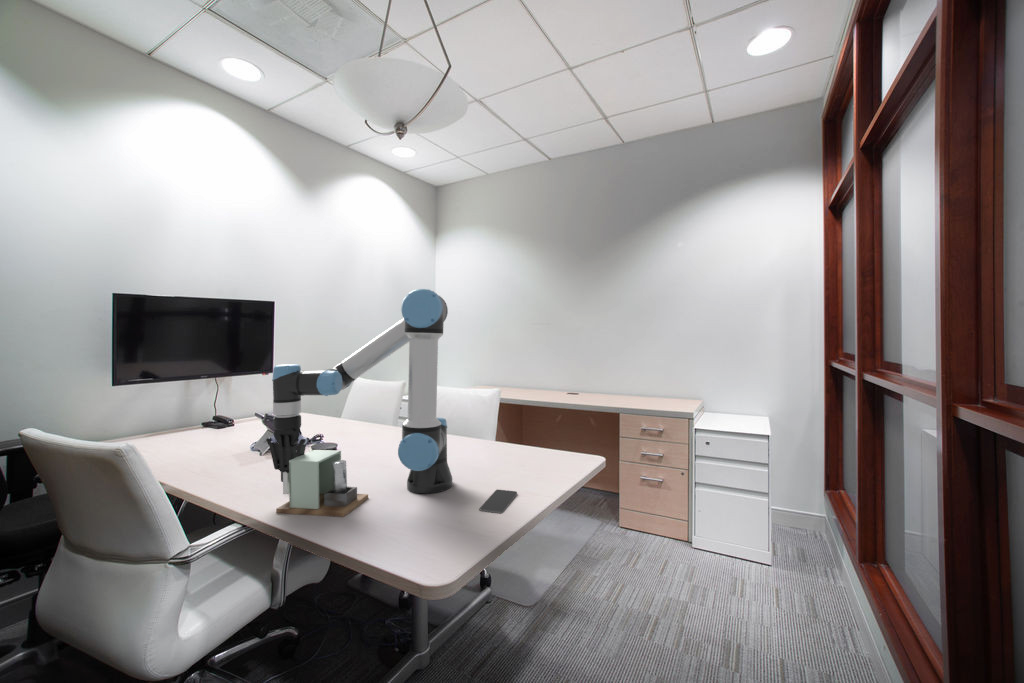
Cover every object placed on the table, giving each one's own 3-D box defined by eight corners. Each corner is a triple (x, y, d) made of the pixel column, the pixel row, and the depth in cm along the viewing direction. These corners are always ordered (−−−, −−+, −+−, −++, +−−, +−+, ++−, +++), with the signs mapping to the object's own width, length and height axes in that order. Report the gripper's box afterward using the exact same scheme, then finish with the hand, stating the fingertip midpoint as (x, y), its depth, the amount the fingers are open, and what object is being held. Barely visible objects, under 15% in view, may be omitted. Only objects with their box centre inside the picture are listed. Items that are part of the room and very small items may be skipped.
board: (368, 498, 131) (368, 483, 131) (343, 516, 117) (343, 500, 117) (307, 494, 134) (307, 480, 134) (276, 512, 120) (276, 496, 120)
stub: (350, 499, 126) (348, 460, 126) (343, 505, 122) (341, 464, 122) (337, 499, 127) (336, 460, 126) (330, 504, 123) (328, 464, 122)
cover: (341, 493, 131) (340, 450, 131) (318, 509, 119) (317, 461, 119) (315, 492, 132) (314, 449, 132) (289, 507, 121) (289, 460, 121)
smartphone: (478, 509, 120) (496, 489, 135) (478, 512, 120) (496, 492, 135) (502, 512, 118) (517, 491, 133) (502, 515, 118) (517, 494, 133)
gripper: (314, 413, 130) (315, 488, 130) (276, 412, 132) (277, 487, 132) (298, 417, 122) (299, 498, 123) (259, 417, 124) (260, 495, 125)
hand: (288, 492), depth 127 cm, fingers closed
